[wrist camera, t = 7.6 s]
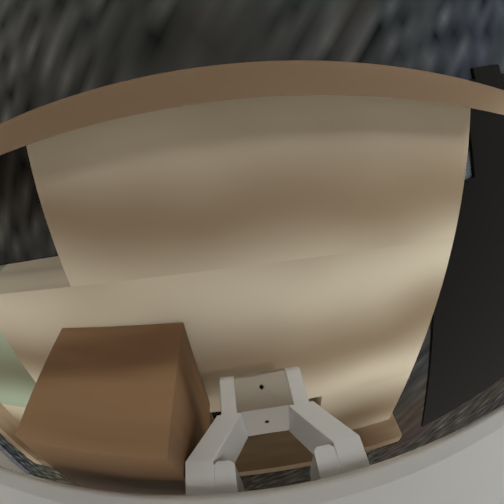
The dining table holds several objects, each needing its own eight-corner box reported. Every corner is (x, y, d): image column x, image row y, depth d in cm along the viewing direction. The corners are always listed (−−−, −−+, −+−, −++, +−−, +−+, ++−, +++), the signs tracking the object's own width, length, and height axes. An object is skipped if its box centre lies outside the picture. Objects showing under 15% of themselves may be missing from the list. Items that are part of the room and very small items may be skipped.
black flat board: (422, 426, 24) (405, 82, 10) (420, 422, 25) (398, 82, 10) (512, 369, 23) (550, 59, 8) (510, 366, 24) (544, 58, 9)
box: (-88, 180, 8) (-136, 212, 5) (436, 80, 10) (508, 91, 6) (45, 421, 18) (34, 463, 14) (378, 395, 19) (398, 440, 16)
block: (62, 327, 10) (15, 435, 6) (183, 322, 10) (167, 459, 6) (109, 402, 13) (89, 493, 8) (209, 402, 13) (209, 505, 9)
